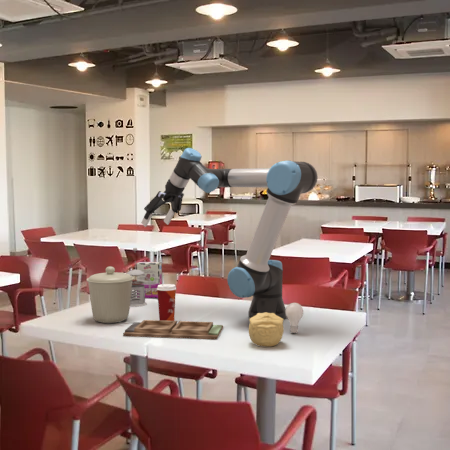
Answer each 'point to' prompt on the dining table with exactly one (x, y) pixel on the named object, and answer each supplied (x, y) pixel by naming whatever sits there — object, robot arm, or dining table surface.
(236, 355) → the dining table surface
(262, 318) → the sculpture
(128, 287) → the canister
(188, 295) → the dining table surface
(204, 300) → the dining table surface
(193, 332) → the wooden compartment tray
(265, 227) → the robot arm
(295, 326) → the lightbulb
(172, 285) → the paper cup
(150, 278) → the candy bar box
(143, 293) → the french press
